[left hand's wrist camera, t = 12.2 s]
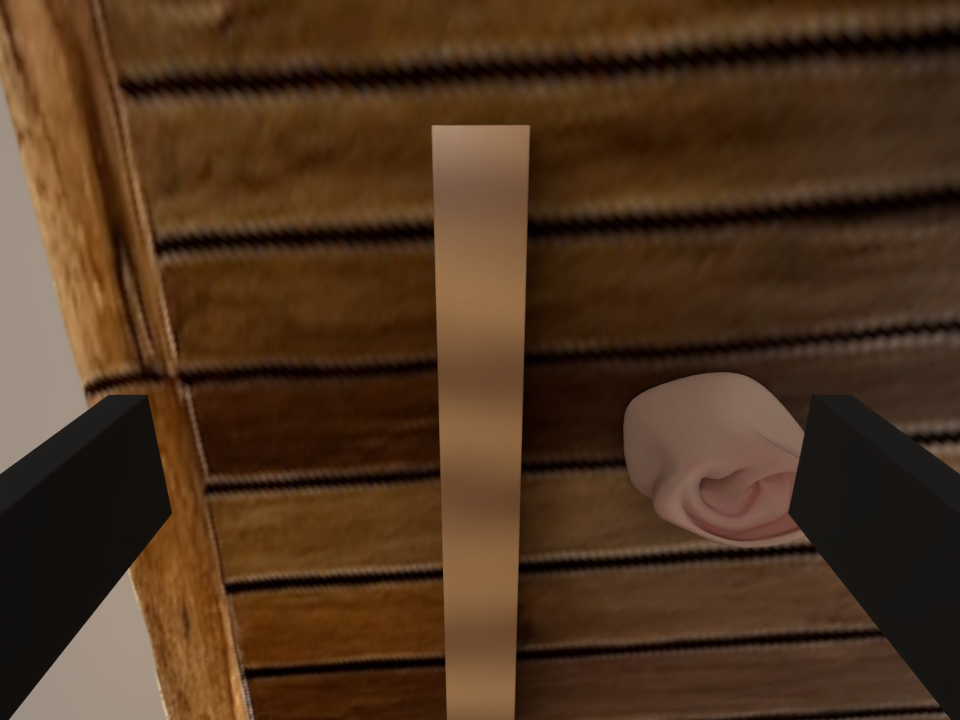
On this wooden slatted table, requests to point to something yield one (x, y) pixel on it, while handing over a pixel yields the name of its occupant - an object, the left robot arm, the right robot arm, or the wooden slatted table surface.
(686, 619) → the wooden slatted table surface
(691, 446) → the anatomical model
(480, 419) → the beam
